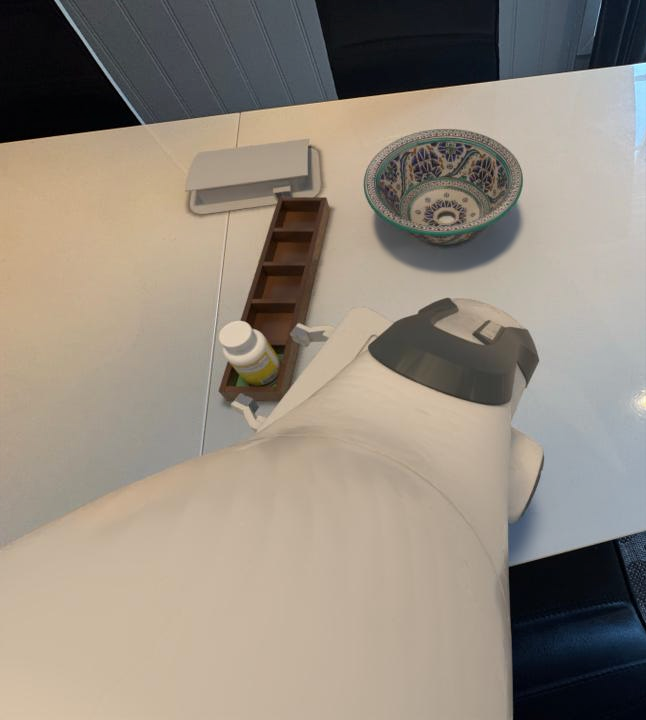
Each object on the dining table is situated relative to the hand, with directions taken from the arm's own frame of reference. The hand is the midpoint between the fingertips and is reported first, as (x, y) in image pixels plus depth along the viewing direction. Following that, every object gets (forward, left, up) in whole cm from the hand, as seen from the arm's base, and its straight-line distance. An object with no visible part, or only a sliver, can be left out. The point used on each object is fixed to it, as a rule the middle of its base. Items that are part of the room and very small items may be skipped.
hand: (267, 365), depth 52 cm
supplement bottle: (+4, +11, -17) cm, 21 cm away
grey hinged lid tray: (+37, +39, -17) cm, 57 cm away
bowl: (+42, +2, -17) cm, 46 cm away
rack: (+18, +18, -17) cm, 30 cm away
